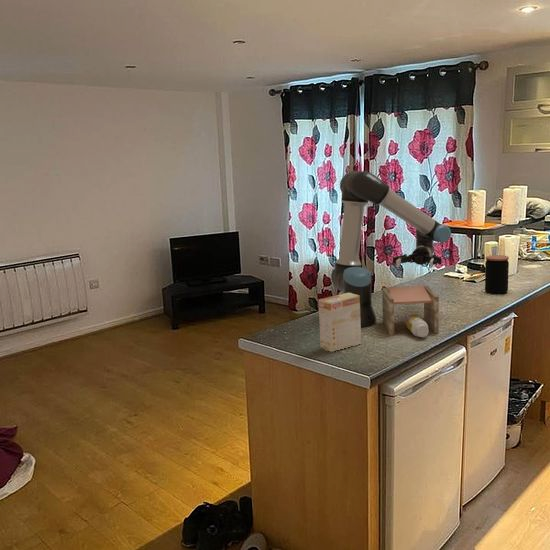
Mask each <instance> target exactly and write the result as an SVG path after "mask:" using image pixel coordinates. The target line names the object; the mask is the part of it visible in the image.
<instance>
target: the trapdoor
mask: <svg viewBox="0 0 550 550" xmlns="http://www.w3.org/2000/svg"><path fill="white" fill-rule="evenodd" d="M424 286H425V285H411V286H410V285H409V286H408V285H407V286H391V287H387V288H386V289H387V290H388V292H389V293H390V294H391V296H392V297H393V299H394V306H395V305H410V304H411V305H412V304H415V305H416V304H417V305H418V304H424V303H432V300H431V298H430V296H429V295H428V293H427V291H426V289H425V288H424Z"/></svg>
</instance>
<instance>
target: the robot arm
mask: <svg viewBox="0 0 550 550" xmlns="http://www.w3.org/2000/svg"><path fill="white" fill-rule="evenodd" d="M339 188H340V191H341V202H342V203H343V205H344V206H343V207H344V209H343V215H342V216H343V218H342V227H341V237H340V245H339V246H340V248H339V257H338V259H337V260H335V263H334V268H333V269H332V270H331V273H330V274H331V275H330V281H331V283H332V285H333V286H334V287H335V288H336V289H337V291H340V292H342V294H345V293H352V294H356V295H360V320H361V328H364V327H366V328H367V327H370V326H374V325H375V324H377V315H376V313H375V311H374V308H373V305H372V303H373V302H372V275H371V271H370V270H369V269H367V268H366V267H362V262H360V261H359V259H360V258H359V256H360V255H359V254H360V246H361V238H362V231H363V230H362V228H363V222H364V221H363V219H364V211H365V206H366V205H368V203H369V202H370V203H372V204H374V205H375V206H378V205H379V206H381V207H383V208H384V209H386V210H387V211H388V212H390V213H392V214H393V215H395V216H396V217H398V218H399V219H401V220H403V221H404V222H405V223H406V224H408V225H409V226H411V227H413V228H414V229H415V238H416V240H415V241H416V242H415V249H414V250H413V251H412V253H411V254H408V255H407V253H404V254H402V255H398V256H394V257H392V264H393V265H396V266H395V267H396V268H399V267H400V266H401V265H402V264H406V263H410V264H411V263H414V264H416V265H418V266H421V265H425V264H427V263H428V264H429V268H430V269H432V268H433V267H434V266H437V265H442V261H443V260H442V257H439V256H438V255H436V254H435V247H434V242H437V243H446V242H448V241H449V240H450V238H451V236H452V231H451V229H450V227H449V226H447V225H445V224H441V223H440V222H439V221H437V220H435V218H433V217H431V216H429V215H428V213H425V212H423V211H422V210H421V209H419V208H418V207H416V206H415V205H414V204H412V203H410V202H409V201H408V200H406V199H405V198H403V197H402V196H400V195H399V194H398V193H396V192H394V191H393V190H391V186H390V185H389V184H387V183H386V182H385V181H383V180H382V179H380V178H379V177H378V176H376V175H375V174H373V173H372V172H370V171H365V170H360V171H359V170H352V171H349V172H346V173H345V174H344V175H343V176H342V177H341V179H340V183H339Z"/></svg>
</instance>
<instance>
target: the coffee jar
mask: <svg viewBox="0 0 550 550" xmlns="http://www.w3.org/2000/svg"><path fill="white" fill-rule="evenodd" d="M509 258H510V257H509V256H507V255H501V254H492V255H491V254H490V255H486V256H485V263H484V264H485V269H484V270H485V271H484V272H485V273H484V292H486V293H487V294H488V293H490V294H489V295H493V294H502V295H506V294H507V293H508V291H509V266H510V264H509V263H510V262H509ZM505 293H506V294H505Z"/></svg>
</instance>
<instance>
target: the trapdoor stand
mask: <svg viewBox="0 0 550 550" xmlns="http://www.w3.org/2000/svg"><path fill="white" fill-rule="evenodd" d="M423 286H424V288H425V289H426V291H427V293H428V295H429V296H430V298H431V300H432V303H423V321H425V322H426V323H427V325H429V326H428V328H430V330H431V331H432V330H433V331H432V333H434V334H435V333H438V334H439V333H440V332H439V331H440V328H439V327H440V325H439V324H440V322H439V320H440V316H439V315H440V314H439V311H440V309H439V307H440V306H439V305H440V304H439V303H440V302H439V301H440V299H439V295H438V294H436V292H435V291H433V290H432V289H431V288H430V287H429V286H428V285H423ZM381 289H382V291H381V295H382V296H381V297H382V322H383V325H384V326H385V329H386V330H387V331H388V334H389V335H390V336H395V305H394V299H393V297H392V296H391V294H390V293H389V292H388V289H387V288H386V287H381Z"/></svg>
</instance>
